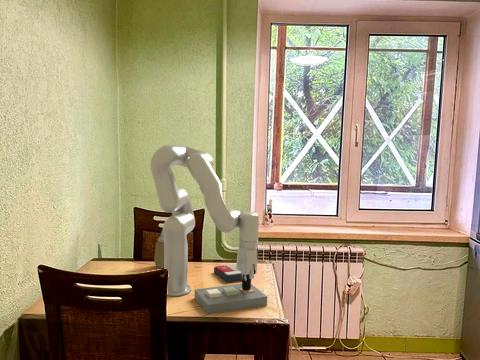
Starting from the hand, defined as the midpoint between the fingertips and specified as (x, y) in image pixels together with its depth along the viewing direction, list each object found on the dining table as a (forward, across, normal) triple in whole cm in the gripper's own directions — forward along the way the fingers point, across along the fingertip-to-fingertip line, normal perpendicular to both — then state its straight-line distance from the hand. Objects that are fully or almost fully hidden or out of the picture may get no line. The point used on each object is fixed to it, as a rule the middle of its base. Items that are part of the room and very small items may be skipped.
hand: (246, 289), depth 163 cm
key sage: (+2, 0, -7) cm, 7 cm away
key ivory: (+2, 0, -14) cm, 14 cm away
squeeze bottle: (+5, -50, -22) cm, 55 cm away
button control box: (+5, -27, +5) cm, 28 cm away
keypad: (+4, 0, -7) cm, 8 cm away
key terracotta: (+3, 0, 0) cm, 3 cm away
